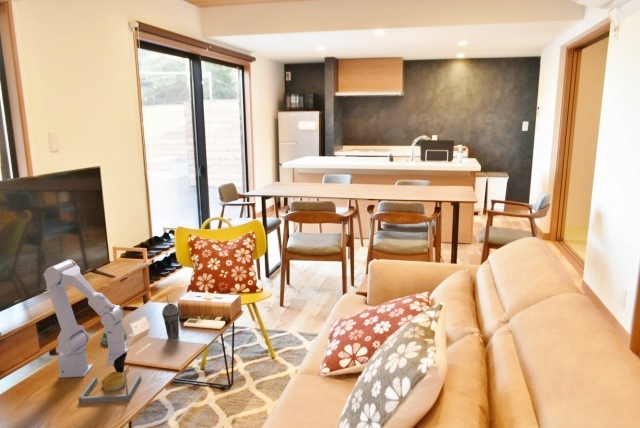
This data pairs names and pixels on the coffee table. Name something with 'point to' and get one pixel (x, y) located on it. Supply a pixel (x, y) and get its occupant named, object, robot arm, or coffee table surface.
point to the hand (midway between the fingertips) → (120, 372)
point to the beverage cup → (171, 320)
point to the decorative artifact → (104, 337)
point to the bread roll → (113, 381)
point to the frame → (109, 398)
